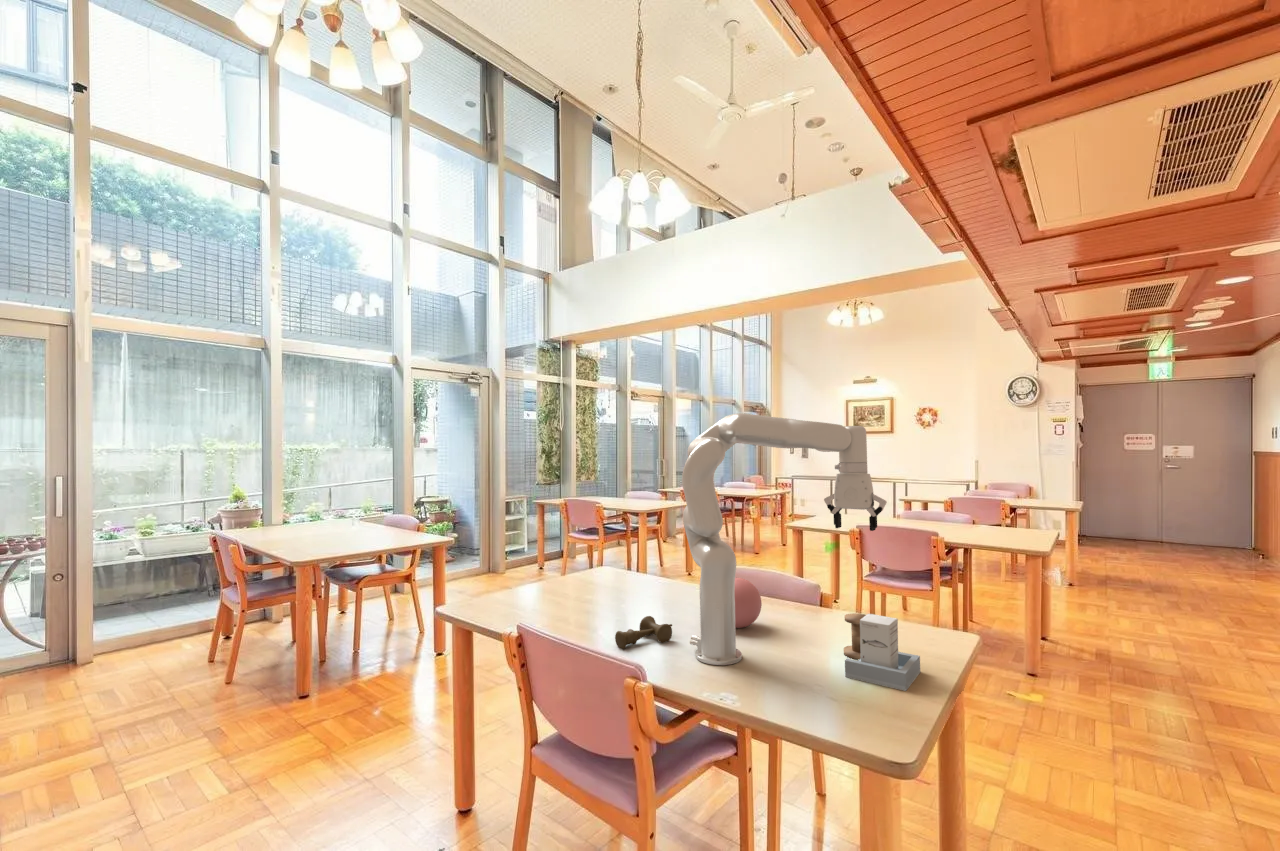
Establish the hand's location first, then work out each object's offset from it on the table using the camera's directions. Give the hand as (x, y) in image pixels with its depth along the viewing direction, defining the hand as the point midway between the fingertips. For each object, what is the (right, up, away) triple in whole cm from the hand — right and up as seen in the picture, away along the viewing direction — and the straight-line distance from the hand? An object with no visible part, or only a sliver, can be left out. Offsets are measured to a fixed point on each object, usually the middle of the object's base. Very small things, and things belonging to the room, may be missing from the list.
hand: (855, 528), depth 163 cm
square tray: (-1, -33, -21) cm, 39 cm away
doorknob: (-2, -33, -7) cm, 34 cm away
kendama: (-60, -35, +7) cm, 69 cm away
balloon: (-32, -35, +21) cm, 52 cm away
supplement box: (-1, -32, -20) cm, 38 cm away
